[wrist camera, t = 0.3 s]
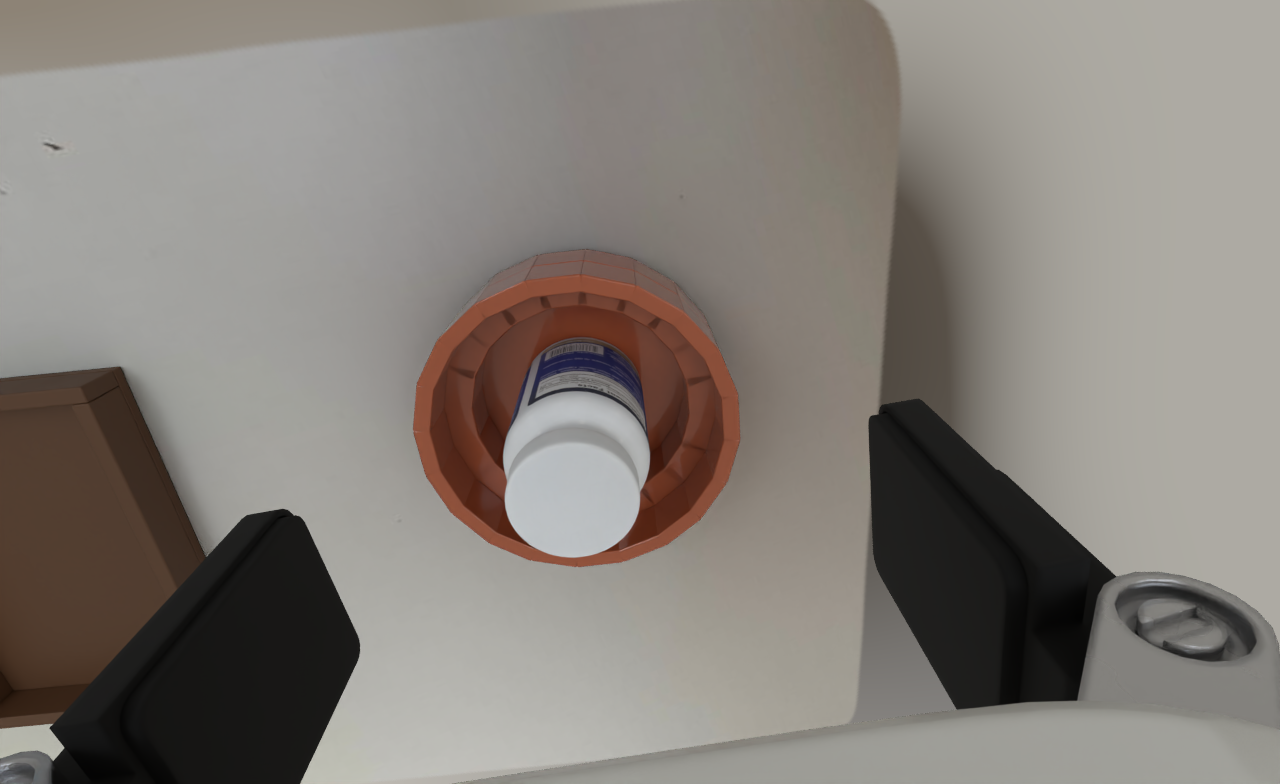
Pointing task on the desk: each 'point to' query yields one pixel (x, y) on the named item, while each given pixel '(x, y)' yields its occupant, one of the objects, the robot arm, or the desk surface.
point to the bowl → (537, 318)
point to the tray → (79, 536)
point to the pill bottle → (576, 449)
